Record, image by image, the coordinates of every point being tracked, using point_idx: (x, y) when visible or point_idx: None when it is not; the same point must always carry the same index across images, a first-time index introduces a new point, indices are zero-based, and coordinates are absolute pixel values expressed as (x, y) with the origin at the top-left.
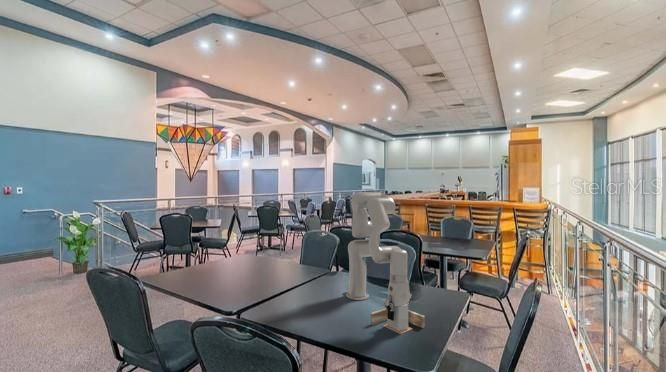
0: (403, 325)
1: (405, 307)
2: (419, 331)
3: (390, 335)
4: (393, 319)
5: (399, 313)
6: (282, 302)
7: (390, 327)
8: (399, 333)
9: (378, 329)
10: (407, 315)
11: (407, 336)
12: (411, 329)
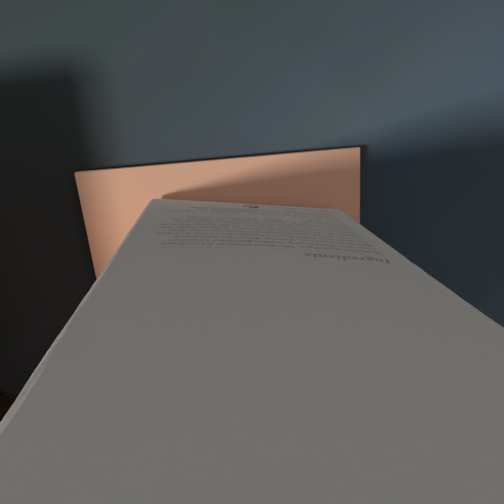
0: (262, 215)
1: (217, 479)
2: (29, 51)
3: (489, 197)
4: None
5: (496, 338)
6: None
7: None
8: (356, 172)
9: None
10: (132, 274)
11: (330, 36)
12: (107, 170)
